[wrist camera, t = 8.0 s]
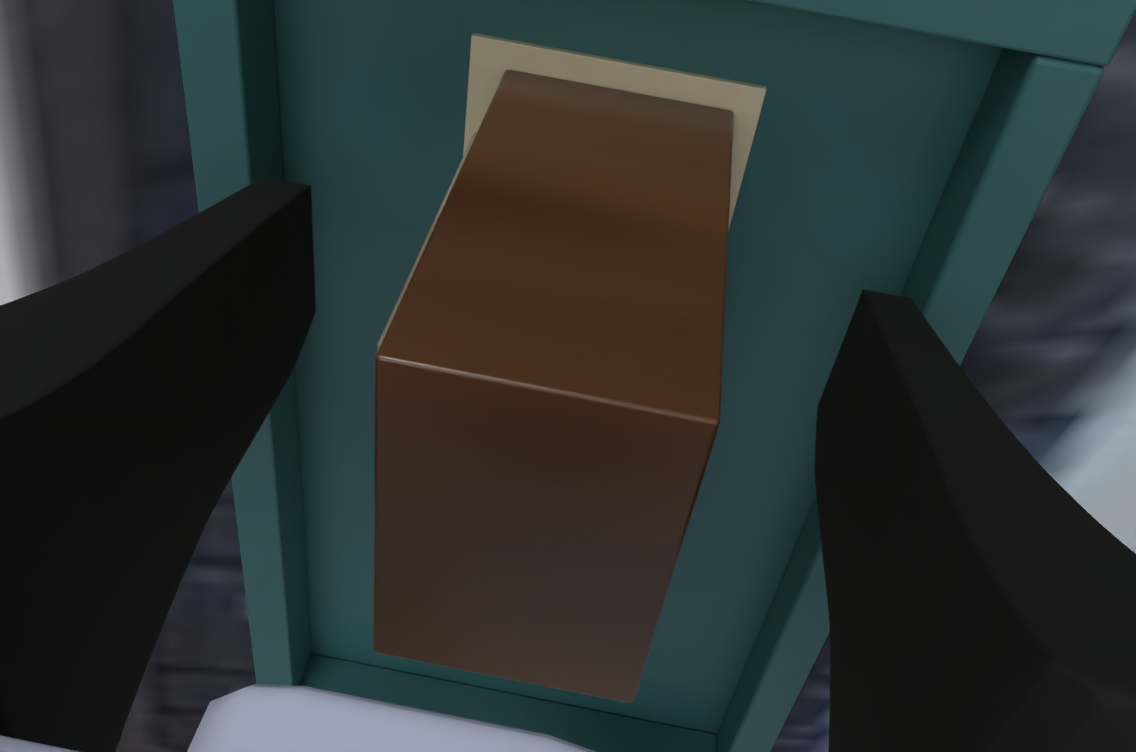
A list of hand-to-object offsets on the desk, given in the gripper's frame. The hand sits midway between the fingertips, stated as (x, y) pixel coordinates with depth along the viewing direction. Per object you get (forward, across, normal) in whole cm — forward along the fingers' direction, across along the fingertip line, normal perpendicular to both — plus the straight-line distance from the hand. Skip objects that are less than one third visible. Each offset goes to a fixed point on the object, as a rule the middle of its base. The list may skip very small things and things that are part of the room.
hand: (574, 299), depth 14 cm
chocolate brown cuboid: (+2, 0, 0) cm, 2 cm away
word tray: (+2, 0, +4) cm, 5 cm away
